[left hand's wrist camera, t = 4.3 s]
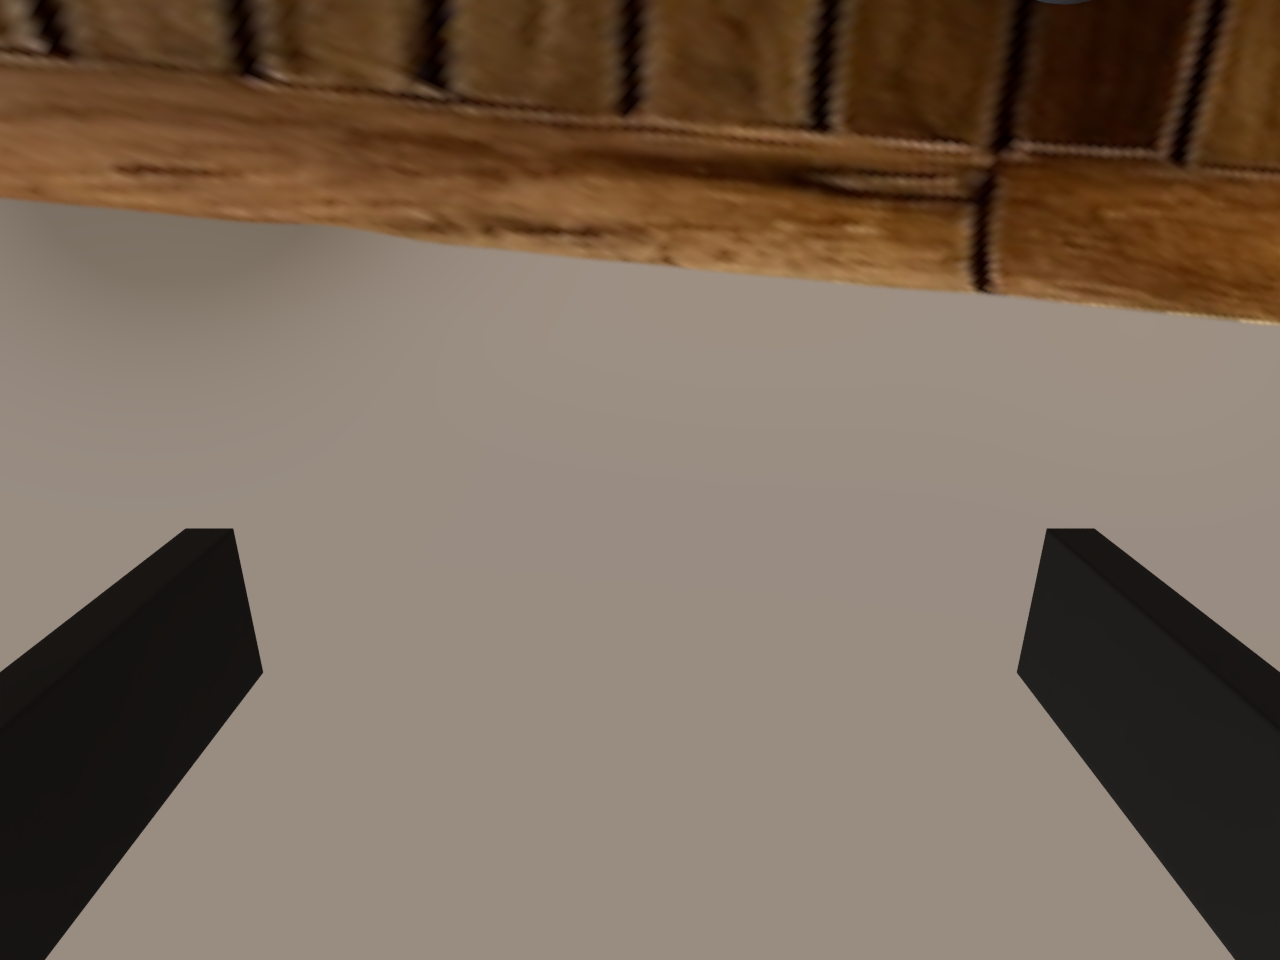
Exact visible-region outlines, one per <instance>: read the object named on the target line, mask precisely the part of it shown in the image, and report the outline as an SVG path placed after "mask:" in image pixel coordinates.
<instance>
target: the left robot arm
mask: <svg viewBox="0 0 1280 960" xmlns="http://www.w3.org/2000/svg"><path fill="white" fill-rule="evenodd" d="M262 673H263V669H262V665H261V660H260V655H259V650H258V645H257V641H256V636H255V631H254V626H253V622H252V617H251V612H250V607H249V602H248V597H247V593H246V588H245V583H244V578H243V573H242V569H241V564H240V559H239V554H238V549H237V545H236V540H235V535H234V530H233V529H184V530H183V531H182V532H181V533H179V534H178V535H177V536H176V537H174V538H173V539H172V540H170V541H169V542H168V543H166V544H165V545H164V546H163V547H161V548H160V549H159V550H157V551H156V552H155V553H154V554H152V555H151V556H150V557H148V558H147V559H146V560H144V561H143V562H142V563H141V564H139V565H138V566H137V567H135V568H134V569H133V570H132V571H130V572H129V573H128V574H126V575H125V576H124V577H122V578H121V579H120V580H119V581H117V582H116V583H115V584H113V585H112V586H111V587H110V588H108V589H107V590H106V591H104V592H103V593H102V594H101V595H99V596H98V597H97V598H95V599H94V600H93V601H92V602H90V603H89V604H88V605H86V606H85V607H84V608H83V609H81V610H80V611H79V612H77V613H76V614H75V615H74V616H72V617H71V618H70V619H68V620H67V621H66V622H64V623H63V624H62V625H61V626H59V627H58V628H57V629H55V630H54V631H53V632H52V633H50V634H49V635H48V636H46V637H45V638H44V639H43V640H41V641H40V642H39V643H37V644H36V645H35V646H33V647H32V648H31V649H30V650H28V651H27V652H26V653H24V654H23V655H22V656H21V657H19V658H18V659H17V660H15V661H14V662H13V663H11V664H10V665H9V666H8V667H6V668H5V669H4V670H2V671H1V672H0V960H45V959H46V958H47V956H48V955H49V954H50V952H51V951H52V950H53V948H54V947H55V946H56V944H57V943H58V942H59V940H60V939H61V938H62V936H63V935H64V934H65V933H66V931H67V930H68V929H69V927H70V926H71V925H72V923H73V922H74V921H75V919H76V918H77V917H78V915H79V914H80V913H81V912H82V910H83V909H84V908H85V906H86V905H87V904H88V902H89V901H90V900H91V898H92V897H93V896H94V894H95V893H96V892H97V890H98V889H99V888H100V887H101V885H102V884H103V883H104V881H105V880H106V879H107V877H108V876H109V875H110V873H111V872H112V871H113V869H114V868H115V867H116V865H117V864H118V863H119V862H120V860H121V859H122V858H123V856H124V855H125V854H126V852H127V851H128V850H129V848H130V847H131V846H132V844H133V843H134V842H135V840H136V839H137V838H138V836H139V835H140V834H141V833H142V831H143V830H144V829H145V827H146V826H147V825H148V823H149V822H150V821H151V819H152V818H153V817H154V815H155V814H156V813H157V812H158V810H159V809H160V808H161V806H162V805H163V804H164V802H165V801H166V800H167V798H168V797H169V796H170V794H171V793H172V792H173V790H174V789H175V788H176V787H177V785H178V784H179V783H180V781H181V780H182V779H183V777H184V776H185V775H186V773H187V772H188V771H189V769H190V768H191V767H192V765H193V764H194V763H195V761H196V760H197V759H198V758H199V756H200V755H201V754H202V752H203V751H204V750H205V748H206V747H207V746H208V744H209V743H210V742H211V740H212V739H213V738H214V737H215V735H216V734H217V733H218V731H219V730H220V729H221V727H222V726H223V725H224V723H225V722H226V721H227V719H228V718H229V717H230V715H231V714H232V713H233V712H234V710H235V709H236V707H237V706H238V705H239V704H240V702H241V701H242V700H243V698H244V697H245V696H246V694H247V693H248V692H249V690H250V689H251V688H252V686H253V685H254V684H255V682H256V681H257V680H258V679H259V677H260V676H261V675H262ZM1017 673H1018V675H1019V676H1020V677H1021V679H1022V680H1023V681H1024V683H1025V684H1026V685H1027V686H1028V688H1029V689H1030V690H1031V692H1032V693H1033V694H1034V696H1035V697H1036V698H1037V700H1038V701H1039V702H1040V704H1041V705H1042V706H1043V708H1044V709H1045V710H1046V712H1047V713H1048V714H1049V715H1050V717H1051V718H1052V719H1053V721H1054V722H1055V723H1056V725H1057V726H1058V727H1059V729H1060V730H1061V731H1062V732H1063V734H1064V735H1065V737H1066V738H1067V739H1068V740H1069V742H1070V743H1071V744H1072V746H1073V747H1074V748H1075V750H1076V751H1077V752H1078V754H1079V755H1080V756H1081V758H1082V759H1083V760H1084V761H1085V763H1086V764H1087V765H1088V767H1089V768H1090V769H1091V771H1092V772H1093V773H1094V775H1095V776H1096V777H1097V779H1098V780H1099V781H1100V783H1101V784H1102V785H1103V786H1104V788H1105V789H1106V790H1107V792H1108V793H1109V794H1110V796H1111V797H1112V798H1113V800H1114V801H1115V802H1116V804H1117V805H1118V806H1119V808H1120V809H1121V810H1122V812H1123V813H1124V814H1125V815H1126V817H1127V818H1128V819H1129V821H1130V822H1131V823H1132V825H1133V826H1134V827H1135V829H1136V830H1137V831H1138V833H1139V834H1140V835H1141V836H1142V838H1143V839H1144V840H1145V842H1146V843H1147V844H1148V846H1149V847H1150V848H1151V850H1152V851H1153V852H1154V854H1155V855H1156V856H1157V857H1158V859H1159V860H1160V861H1161V863H1162V864H1163V865H1164V867H1165V868H1166V869H1167V871H1168V872H1169V873H1170V875H1171V876H1172V877H1173V879H1174V880H1175V881H1176V883H1177V884H1178V885H1179V886H1180V888H1181V889H1182V890H1183V892H1184V893H1185V894H1186V896H1187V897H1188V898H1189V900H1190V901H1191V902H1192V904H1193V905H1194V906H1195V908H1196V909H1197V910H1198V912H1199V913H1200V914H1201V915H1202V917H1203V918H1204V919H1205V921H1206V922H1207V923H1208V925H1209V926H1210V927H1211V929H1212V930H1213V931H1214V933H1215V934H1216V935H1217V936H1218V938H1219V939H1220V940H1221V942H1222V943H1223V944H1224V946H1225V947H1226V948H1227V950H1228V951H1229V952H1230V953H1231V955H1232V956H1233V958H1234V959H1235V960H1280V672H1279V671H1278V670H1276V669H1275V668H1274V667H1272V666H1271V665H1270V664H1269V663H1267V662H1266V661H1265V660H1263V659H1262V658H1261V657H1260V656H1258V655H1257V654H1256V653H1254V652H1253V651H1252V650H1250V649H1249V648H1248V647H1246V646H1245V645H1244V644H1243V643H1241V642H1240V641H1239V640H1238V639H1236V638H1235V637H1234V636H1232V635H1231V634H1230V633H1229V632H1227V631H1226V630H1225V629H1223V628H1222V627H1221V626H1219V625H1218V624H1217V623H1216V622H1214V621H1213V620H1212V619H1210V618H1209V617H1208V616H1207V615H1205V614H1204V613H1203V612H1201V611H1200V610H1199V609H1198V608H1196V607H1195V606H1194V605H1192V604H1191V603H1190V602H1189V601H1187V600H1186V599H1185V598H1183V597H1182V596H1181V595H1179V594H1178V593H1177V592H1176V591H1174V590H1173V589H1172V588H1170V587H1169V586H1168V585H1167V584H1165V583H1164V582H1163V581H1161V580H1160V579H1159V578H1157V577H1156V576H1155V575H1154V574H1152V573H1151V572H1150V571H1148V570H1147V569H1146V568H1145V567H1143V566H1142V565H1141V564H1139V563H1138V562H1137V561H1135V560H1134V559H1133V558H1132V557H1130V556H1129V555H1128V554H1127V553H1125V552H1124V551H1123V550H1121V549H1120V548H1119V547H1117V546H1116V545H1115V544H1113V543H1112V542H1111V541H1110V540H1108V539H1107V538H1106V537H1105V536H1103V535H1102V534H1101V533H1099V532H1098V531H1097V530H1096V529H1047V530H1046V535H1045V540H1044V545H1043V549H1042V554H1041V559H1040V564H1039V569H1038V573H1037V578H1036V583H1035V588H1034V593H1033V597H1032V602H1031V607H1030V612H1029V617H1028V621H1027V626H1026V631H1025V636H1024V641H1023V645H1022V650H1021V655H1020V660H1019V665H1018V670H1017Z"/></svg>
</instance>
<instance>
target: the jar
mask: <svg viewBox="0 0 1280 960" xmlns="http://www.w3.org/2000/svg"><path fill="white" fill-rule="evenodd" d="M1038 1H1042V2H1045V3H1053V4H1077V3H1083V2H1088V1H1092V0H1038Z"/></svg>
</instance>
